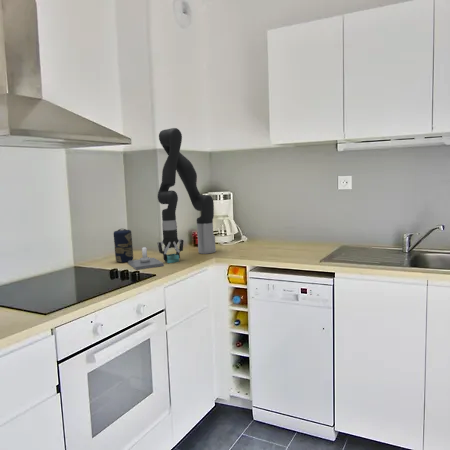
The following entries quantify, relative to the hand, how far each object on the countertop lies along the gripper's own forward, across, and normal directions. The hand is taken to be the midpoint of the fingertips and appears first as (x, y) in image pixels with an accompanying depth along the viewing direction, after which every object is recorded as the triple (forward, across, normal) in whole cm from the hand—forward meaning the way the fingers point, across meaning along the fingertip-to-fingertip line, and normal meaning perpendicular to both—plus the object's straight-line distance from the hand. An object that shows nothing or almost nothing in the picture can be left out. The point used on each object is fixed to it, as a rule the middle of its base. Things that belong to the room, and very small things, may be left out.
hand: (171, 260), depth 223 cm
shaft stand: (+1, +14, -1) cm, 14 cm away
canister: (+1, +21, -18) cm, 28 cm away
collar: (+1, 0, 0) cm, 1 cm away
